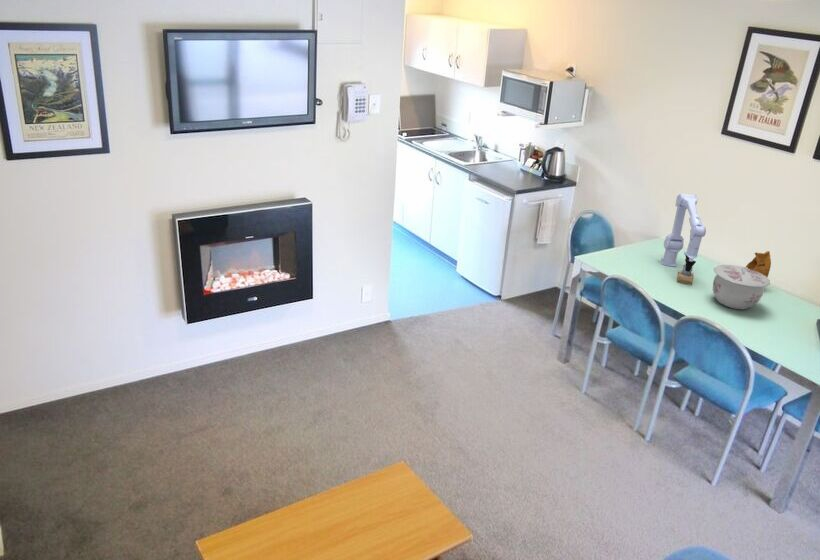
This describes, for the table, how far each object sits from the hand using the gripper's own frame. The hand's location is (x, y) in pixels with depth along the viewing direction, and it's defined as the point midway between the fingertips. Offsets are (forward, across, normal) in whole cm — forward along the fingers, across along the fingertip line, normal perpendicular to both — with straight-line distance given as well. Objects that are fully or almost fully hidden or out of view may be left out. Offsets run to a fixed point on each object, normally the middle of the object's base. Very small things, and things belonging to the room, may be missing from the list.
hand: (687, 268), depth 375 cm
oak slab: (+6, 0, 0) cm, 6 cm away
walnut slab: (+8, 0, 0) cm, 8 cm away
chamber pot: (+8, +18, +25) cm, 32 cm away
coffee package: (+8, -11, +36) cm, 38 cm away
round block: (+3, 0, 0) cm, 3 cm away
